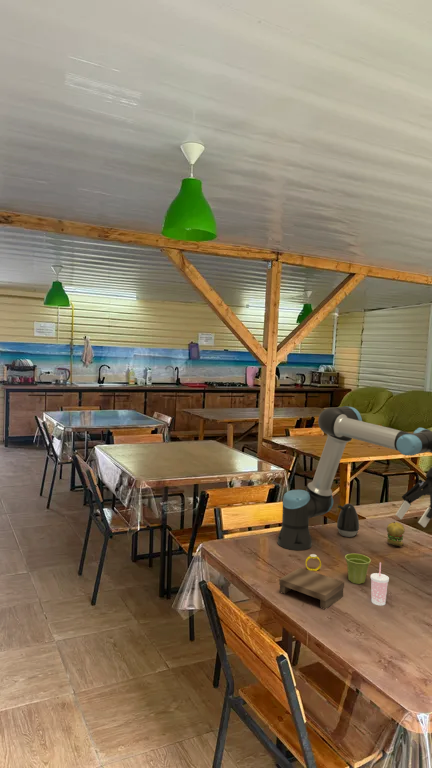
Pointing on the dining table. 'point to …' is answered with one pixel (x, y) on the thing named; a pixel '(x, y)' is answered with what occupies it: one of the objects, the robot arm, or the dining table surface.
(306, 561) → the watch
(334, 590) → the walnut shelf
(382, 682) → the dining table surface
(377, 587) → the beverage cup
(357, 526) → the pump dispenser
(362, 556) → the plant pot
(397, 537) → the hamburger
